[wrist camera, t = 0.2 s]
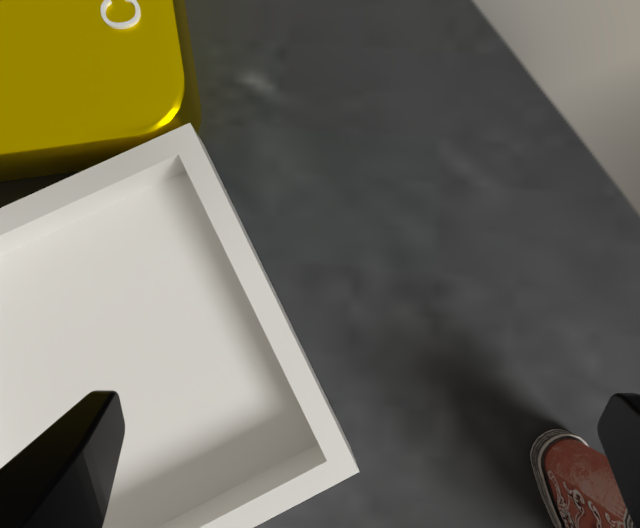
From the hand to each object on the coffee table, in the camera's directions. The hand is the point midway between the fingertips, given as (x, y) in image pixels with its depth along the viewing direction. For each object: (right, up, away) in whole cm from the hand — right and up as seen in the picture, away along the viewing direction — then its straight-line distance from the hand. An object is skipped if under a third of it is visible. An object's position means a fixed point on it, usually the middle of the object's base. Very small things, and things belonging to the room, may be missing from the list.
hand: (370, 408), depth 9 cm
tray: (-10, -2, +14) cm, 18 cm away
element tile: (-15, +14, +15) cm, 26 cm away
